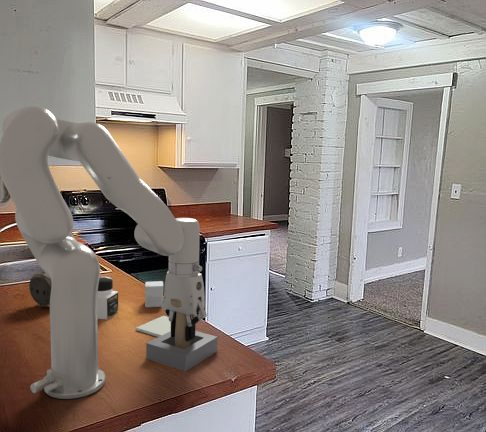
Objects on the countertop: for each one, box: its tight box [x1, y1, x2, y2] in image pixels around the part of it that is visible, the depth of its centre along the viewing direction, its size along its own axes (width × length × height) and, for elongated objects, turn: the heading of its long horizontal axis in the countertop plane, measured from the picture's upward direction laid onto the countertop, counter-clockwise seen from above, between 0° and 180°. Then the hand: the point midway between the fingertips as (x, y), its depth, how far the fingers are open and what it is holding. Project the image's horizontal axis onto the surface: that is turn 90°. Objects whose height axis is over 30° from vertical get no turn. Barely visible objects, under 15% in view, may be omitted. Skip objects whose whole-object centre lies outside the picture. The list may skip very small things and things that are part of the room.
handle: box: [171, 299, 190, 349], centre depth 114 cm, size 5×6×15 cm
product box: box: [144, 280, 164, 308], centre depth 152 cm, size 6×6×7 cm
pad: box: [135, 315, 171, 338], centre depth 131 cm, size 12×12×1 cm
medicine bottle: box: [97, 276, 119, 321], centre depth 140 cm, size 7×7×12 cm
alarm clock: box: [28, 270, 52, 310], centre depth 144 cm, size 11×5×16 cm, turn 65°
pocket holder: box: [145, 330, 218, 372], centre depth 114 cm, size 13×12×4 cm
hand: (182, 336), depth 114 cm, fingers closed on handle, 4 cm apart
